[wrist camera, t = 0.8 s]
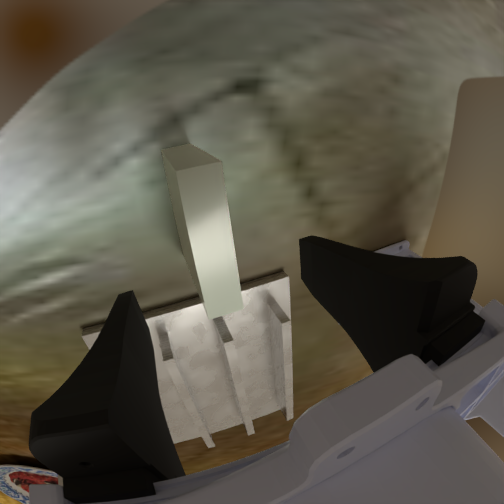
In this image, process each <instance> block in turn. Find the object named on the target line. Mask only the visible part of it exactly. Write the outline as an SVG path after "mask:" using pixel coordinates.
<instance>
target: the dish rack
mask: <svg viewBox="0 0 504 504" xmlns="http://www.w3.org/2000/svg"><path fill="white" fill-rule="evenodd" d="M240 287H241V293H242V299H243V306H244V309H242V310H239V311H236V312H233V313H230V314H227V315H223V316H220V317H217V318H214V319H210V320H209V319H208V317H207V314H206V312H205V309H204V307H203V304H202V302H201V299H200V297H195V298H192V299H189V300H185V301H182V302H178V303H175V304H171V305H168V306H164V307H161V308H157V309H153V310H150V311H146V312H143V316H144V318H145V320H146V322H147V325H148V327H149V330H150V334H151V339H152V343H153V347H154V354H155V363H156V371H157V379H158V387H159V394H160V399H161V404H162V407H163V411H164V415H165V418H166V422H167V425H168V428H169V431H170V434H171V437H172V440H173V443H178V442H182V441H186V440H190V439H193V438H197V437H200V436H202V438H203V439H204V441H205V443H206V445H207V446H208V448H211V447H214V446H215V444H214V442H213V439H212V436H211V433H214V432H217V431H221V430H224V429H227V428H230V427H233V426H236V425H239V424H242V423H243V425H244V427H245V429H246V432H247V434H248V435H251V434H254V433H255V432H254V428H253V423H252V420H253V419H256V418H259V417H261V416H264V415H267V414H269V413H272V412H275V411H277V410H280V409H281V411H282V413H283V415H284V416H285V418H286V420H290V419H292V418H293V374H292V338H291V311H290V288H289V276H288V275H287V274H286V273H285V272H284V271H282V272H279V273H275V274H272V275H269V276H266V277H262V278H259V279H256V280H253V281H249V282H246V283H243V284H240ZM104 324H105V323H102V324H98V325H95V326H91V327H87V328H83V331H82V337H83V339H84V341H85V343H86V344H87V346H88V348H89V350H90V349H91V347H92V346H93V344H94V342H95V341H96V339H97V337H98V335H99V333H100V331H101V330H102V328H103V326H104Z"/></svg>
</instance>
